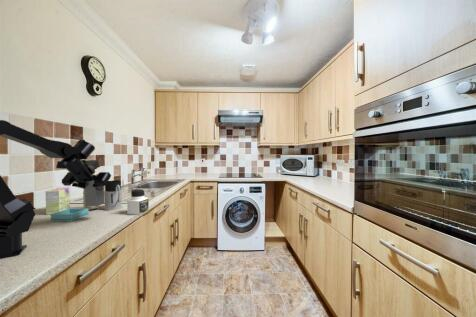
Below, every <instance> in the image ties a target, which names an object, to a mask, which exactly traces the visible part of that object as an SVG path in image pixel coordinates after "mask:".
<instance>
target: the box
mask: <svg viewBox="0 0 476 317" xmlns="http://www.w3.org/2000/svg"><path fill="white" fill-rule="evenodd" d="M70 206H71V204H70V187H57V188H53V189H50V190H46V191H45V216H46V215H50V216H51V214H53V213H56V212H60V211H63V210H66V209H69V208H71V207H70Z"/></svg>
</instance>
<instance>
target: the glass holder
mask: <svg viewBox="0 0 476 317" xmlns="http://www.w3.org/2000/svg"><path fill="white" fill-rule="evenodd" d="M121 181H122V180H115V179H114V180H109V181H108V182H107V184H106V185H105V186H104V208H103V210H104V211H116V210H120V209H122V208H123V206H122V183H121Z"/></svg>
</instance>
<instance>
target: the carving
mask: <svg viewBox="0 0 476 317" xmlns="http://www.w3.org/2000/svg"><path fill="white" fill-rule="evenodd" d="M82 191H83V192H82V194H83V195H82V196H83V201H82V204H83V209H88V211H90V210H96V209H99V205H98V206H86V200H85V189H83V190H82Z"/></svg>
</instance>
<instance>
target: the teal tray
mask: <svg viewBox="0 0 476 317" xmlns="http://www.w3.org/2000/svg"><path fill="white" fill-rule="evenodd" d="M88 215H89V210H88V209H84V208H75V207H73V208H71V207H70V208H69V209H66V210H63V211H60V212H56V213H53V214H50V221H51V222H73V221H75V220H78V219H81V218H83V217H87V216H88Z"/></svg>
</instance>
